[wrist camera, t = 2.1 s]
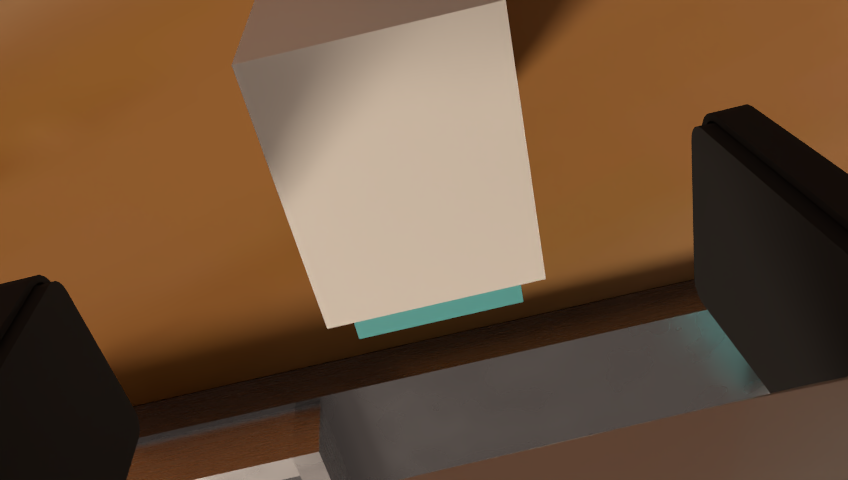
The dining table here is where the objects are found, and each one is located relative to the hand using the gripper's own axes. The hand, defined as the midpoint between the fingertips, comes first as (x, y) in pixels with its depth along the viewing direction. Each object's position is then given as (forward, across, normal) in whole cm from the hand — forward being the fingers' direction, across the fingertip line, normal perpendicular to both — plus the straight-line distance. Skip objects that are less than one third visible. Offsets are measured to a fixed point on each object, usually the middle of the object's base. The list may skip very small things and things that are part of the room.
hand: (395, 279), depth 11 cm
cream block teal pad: (+10, -1, -1) cm, 10 cm away
